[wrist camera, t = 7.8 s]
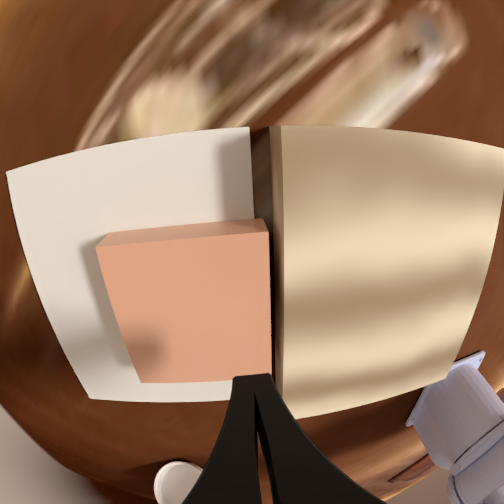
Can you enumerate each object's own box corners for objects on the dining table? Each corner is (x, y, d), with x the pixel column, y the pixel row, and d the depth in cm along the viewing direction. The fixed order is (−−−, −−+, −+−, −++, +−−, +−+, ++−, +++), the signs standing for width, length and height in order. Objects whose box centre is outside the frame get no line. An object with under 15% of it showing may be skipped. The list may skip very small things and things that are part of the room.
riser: (429, 356, 22) (445, 378, 19) (275, 390, 21) (281, 421, 18) (475, 142, 14) (506, 149, 12) (269, 126, 13) (280, 125, 11)
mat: (262, 391, 21) (262, 396, 20) (91, 394, 20) (90, 398, 19) (248, 127, 13) (249, 126, 13) (11, 170, 13) (6, 171, 12)
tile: (267, 354, 18) (271, 376, 17) (146, 361, 18) (140, 382, 16) (262, 218, 15) (268, 231, 13) (109, 232, 14) (95, 247, 12)
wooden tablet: (410, 476, 40) (412, 482, 38) (384, 479, 37) (386, 486, 35) (512, 388, 32) (517, 394, 31) (502, 380, 29) (508, 387, 28)
